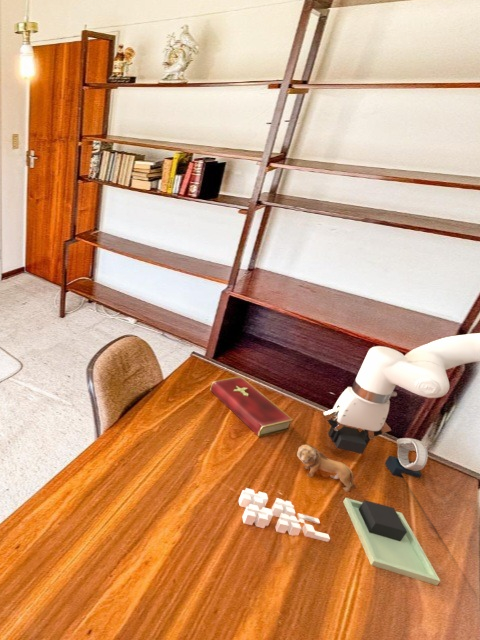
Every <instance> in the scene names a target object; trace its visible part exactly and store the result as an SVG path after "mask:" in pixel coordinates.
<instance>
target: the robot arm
mask: <svg viewBox="0 0 480 640" xmlns="http://www.w3.org/2000/svg"><path fill="white" fill-rule="evenodd" d="M470 363H480V332H477V333H475V332H474V333H466V334H459V335H451V336H446V337H443V338H439V339H436V340H433V341H430V342H428V343H425V344H422V345H420V346H418V347H415V348H414V349H412V350H410V351H408V352H407V353H405V355H404V354H403V353H402V352H400V351H398V350H397V349H394V348H391V347H388V346H382V345H376V346H375V345H374V346H372V347H370V348H369V349H368V350H367V353H366V355H365V357H364V360H363V362H362V364H361V365H360V368H359V370H358V373H357V374H356V377H355V379H354V381H353V383H352V386H347V388H345V389H344V391H342V393H341V394H340V395H339V397H338V398H337V400H336V402H335V403H334V405H333V406H332V409H329V410H326V411H323V412H322V416H323V418H324V419H325V420H326V421H327V423H328V424H329V425H330V428H329V430H328V433H327V435H328V437H329V439H330V440H331V443H334V444H335V442H336V441H337V439H338V436H339V435H340V431H339V430H340V429H341V428H343V427H344V426H346V427H351V428H355V429H360V430H361V431H359V432H360V433H361V435H362V437H363V439H364V440H365V442H366V444H367V446H368V445H369V443H370V440H373V439H375V437H377V436H381V435H383V434H384V433H385V434H386V433H388V432H391V431H392V429H391V427H390V426H389V425H388V423H387V422H386V421H387V418H388V415H389V412H390V406H391V405H390V404H391V401H390V399H391V398H392V397H393V398H396V397H397V396H398V393H397V391H394V390H395V388H396V387H397V386H398V387H400V388H402V389H404V390H406V391H408V392H410V393H413V394H415V395H418V396H420V397H423V398H428V399H438V398H442V397H443V396H446V395H447V394H448V392H449V390H450V381H449V378H448V374H447V370H450V369H453V368H455V367H459V366H463V365H466V364H470ZM333 417H335V418H333Z"/></svg>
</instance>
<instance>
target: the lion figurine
mask: <svg viewBox="0 0 480 640" xmlns="http://www.w3.org/2000/svg"><path fill="white" fill-rule="evenodd" d="M296 456H297V458H298V459H299V460H300V461H301V462H302V464H303V465H304V466H303V468H304V469H305V470H310V471H309V472H308V473H306V476H307V477H309V478H313V477H314V475H315V473H316V472H317V471H318V470H320V471H323V472H326V473H331V474H330V475H329V477H330V478H331V479H333V480H340V482H341V483H342V484H343V485H344V486H345V487H342V490H344V491H345V492H348V493H349V492H350V491H351V488H352V489H353V488H354V489H355V488H356V485H355V484H353V483H354V480H355V479H354V478H355V477H354V473H353V471H352V469H351V468H350V466H348V465H347V464H345V463H344V462H342V461H338V460H334V459H330V458H328V457H326V456H325V455H324V453H323V452H321V451H320V450H318V449H317V448H315V447H314V446H312V445H309V444H301V445H300V446H299V447H298V450H297V452H296ZM333 473H335V475H333Z"/></svg>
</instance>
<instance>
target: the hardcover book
mask: <svg viewBox="0 0 480 640" xmlns="http://www.w3.org/2000/svg"><path fill="white" fill-rule="evenodd" d="M209 387H210V388H209V390H210V392H212V394H213V395H214V396H215V397H217V398H218V399H219V400H220V401H221V402H222V403H223V404H224V405H225V406H226V407H227V408H228V409H229V410H230V411H231V412H232V413H233V414H234V415H236V417H238V419H240V421H242V422H243V423H244V424H245V425H246V426H247V427H248V428H249V429H250V430H251V431H252V432H253V433H254V434H255V435H256V436H257V437H259V438H260V437H261V438H262V437H265V436H270V435H274V434H277V433H282V432H286V431H290V430H291V428H290V427H289V426H290V424H291V422H294V418H292V417H291V416H290V415H288V413H286V412H285V411H283V409H282V408H280V407H278V405H277V404H276V403H274V402H273V401H271V400H270V399H269V398H268V397H267V396H266V395H264V394H263V393H262V392H261V391H260V390H258V388H256V387H255V386H254V385H252V384H251V383H249V381H247V380H246V379H245V378H244V377H242V376H241V375H240V376H235V377H229V378H224V379H218V380H213V381H212V382H211V384H210V386H209Z"/></svg>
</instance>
